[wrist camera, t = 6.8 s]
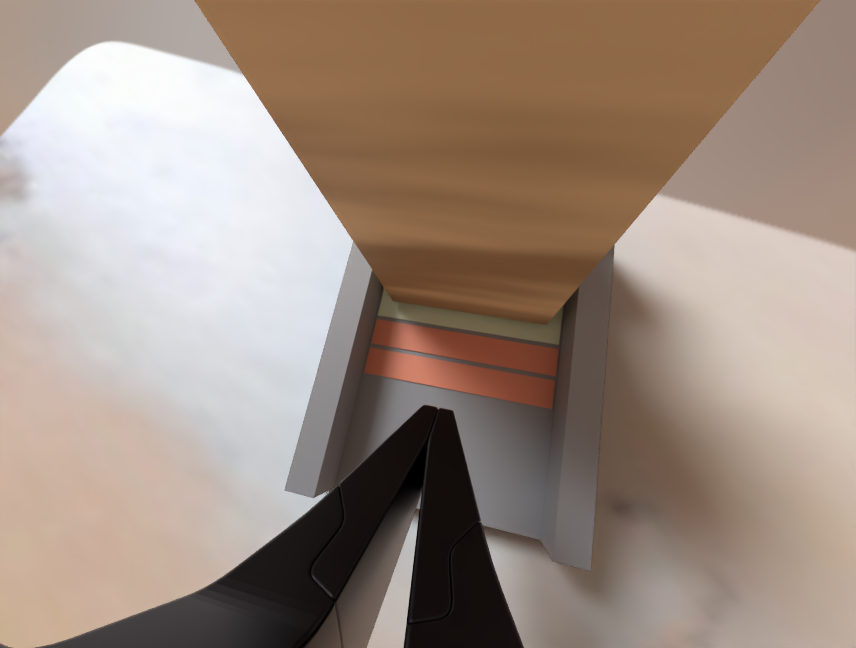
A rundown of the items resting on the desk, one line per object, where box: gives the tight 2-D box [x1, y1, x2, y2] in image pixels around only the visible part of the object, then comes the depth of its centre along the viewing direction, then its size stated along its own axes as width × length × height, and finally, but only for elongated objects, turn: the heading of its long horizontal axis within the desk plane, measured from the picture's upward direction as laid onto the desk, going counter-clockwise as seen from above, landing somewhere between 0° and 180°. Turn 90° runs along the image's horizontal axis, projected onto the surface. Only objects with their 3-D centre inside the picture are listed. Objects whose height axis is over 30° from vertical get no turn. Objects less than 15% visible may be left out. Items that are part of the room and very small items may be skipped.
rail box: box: [285, 241, 614, 571], centre depth 14 cm, size 14×11×6 cm
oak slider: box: [195, 0, 820, 325], centre depth 10 cm, size 4×7×12 cm, turn 79°
